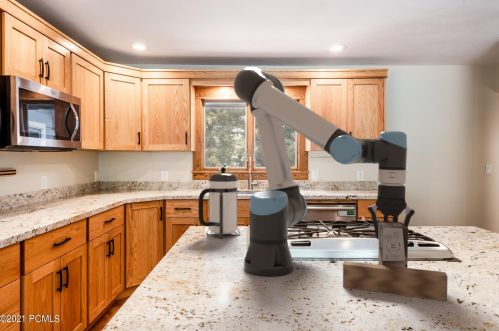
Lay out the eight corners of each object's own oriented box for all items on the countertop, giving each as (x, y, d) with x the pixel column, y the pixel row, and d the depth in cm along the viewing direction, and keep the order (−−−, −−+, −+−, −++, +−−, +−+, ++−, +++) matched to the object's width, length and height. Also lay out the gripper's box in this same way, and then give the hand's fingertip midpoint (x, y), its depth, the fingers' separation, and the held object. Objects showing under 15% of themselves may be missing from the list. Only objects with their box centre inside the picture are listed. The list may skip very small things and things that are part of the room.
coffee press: (208, 230, 157) (208, 166, 156) (242, 231, 155) (242, 166, 154) (198, 239, 140) (197, 167, 139) (235, 240, 137) (235, 167, 137)
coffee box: (408, 290, 86) (408, 228, 86) (381, 288, 88) (382, 226, 87) (401, 278, 95) (402, 221, 94) (377, 276, 96) (378, 220, 96)
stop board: (342, 286, 88) (343, 264, 88) (344, 282, 91) (344, 260, 91) (447, 301, 80) (447, 276, 79) (444, 296, 82) (445, 272, 82)
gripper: (367, 184, 97) (365, 264, 98) (417, 186, 92) (414, 271, 93) (368, 182, 104) (366, 257, 105) (415, 184, 99) (412, 263, 100)
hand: (389, 263), depth 99 cm, fingers closed
